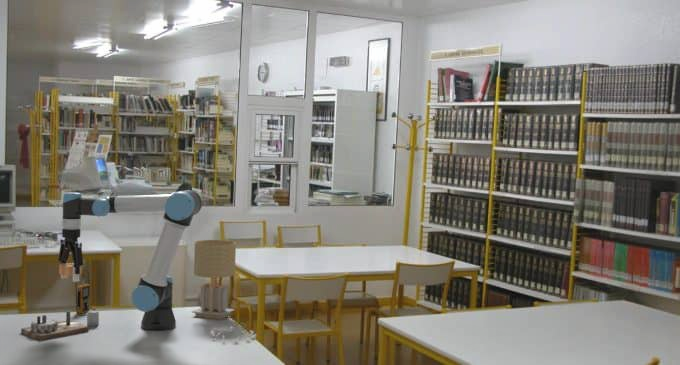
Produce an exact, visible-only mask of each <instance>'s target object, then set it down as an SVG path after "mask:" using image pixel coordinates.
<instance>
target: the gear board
mask: <svg viewBox="0 0 680 365" xmlns="http://www.w3.org/2000/svg"><path fill="white" fill-rule="evenodd" d="M41 316H42V317H41ZM41 316H40V315H37V317H36V318H37V319H36V321H32V322H31V323H30V326H27V327H22V328H21V330H20V334H23V335H25V336H28V337H31V338H33V339H36V340H38V341H46V340H51V339H54V338H56V339H57V338H59V337H66V336H70V335H76V334H77V335H78V334H82V333H86V332H87V333H88V332H90V331H89V329H90V328H89V327H90V326H87V325H84V324H82V323H79V322H76V321H72V320H71V311H70V310H67V311H66V318H65V319H66V320H63V321H62V320H61V321H57V320H55V319H50V320H49V319H47V315H46V314H44V315H41ZM41 318H42V320H41Z"/></svg>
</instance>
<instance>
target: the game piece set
mask: <svg viewBox="0 0 680 365" xmlns="http://www.w3.org/2000/svg"><path fill="white" fill-rule="evenodd" d="M233 329H234V328H233V326H231V325H230V327H229V333H232V332H233ZM209 333H210V334H211V337H212V339H211V341H213V342H215V341H217V337H218V336H219V335H221V334H222V331H219V332H218V333H217V334H215V333H216V332H215V330H210V331H209ZM249 333H250V334H249V337H250V338H249V337H247V338H246V343H251V339H253V340H255V338H257V335H258V334H257V333H254V330H249ZM241 334H246V333H245V330H244V329H242V331H241ZM225 337H226V336H225V335H224V334H223V335H222V340H221V341H220V342H221V343H220V344H226V343H227V341H226V340H225ZM240 338H241V337H240V336H238V337H237V338H236V339H234V338H233V341H232V343H234V344H238V343H239V342H240Z"/></svg>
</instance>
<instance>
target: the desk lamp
mask: <svg viewBox="0 0 680 365" xmlns="http://www.w3.org/2000/svg"><path fill="white" fill-rule="evenodd" d="M236 248H237V243H236V242H235V241H232V240H223V239H204V240H197V241H195V242H194V249H193V251H194V257H193V260H194V261H193V263H194V264H193V274H194V276H197V277H202V278H211V279H212V284H211V282H206V283H204V284H202V286H200V308H197V309H195V310H193V311H192V312H191V313H194V314H195V315H194V316H195V317H197V318H199V317H200V318H206V319H214V320H215V319H216V320H222V319H225V318H226V317H229V316H231V315H232V312H234V311H235V310H236V309H234V308H228V289H229V288H228V287H227V284H226V283H225V284H220V283H217V282H216V280H217V279H216V278H228V277H232V276H234V275H236V256H237V255H236V254H237V253H236Z"/></svg>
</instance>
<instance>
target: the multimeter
mask: <svg viewBox="0 0 680 365" xmlns="http://www.w3.org/2000/svg"><path fill="white" fill-rule="evenodd" d="M85 271H86V272H87V273H88V275H87V278H88V279H87V283H85V278H82V281H81V282H82V283H81V285H77V284H78V281H77V282H75V300H76V301H75V305H76V306H75V308H76V315H77V316H80V317H81V316H87V312H88V311H90V310H92V308H91V307H90V305H91V304H90V303H91V302H90V296H91V284H90V283H89V282H90V281H89V278H90V276H89V275H90V274H89V270H87V269H84V270H83V272H82V274H81V275H82V276H84V274H85ZM93 311H96V308H95V309H94V308H93ZM84 313H86V314H84Z"/></svg>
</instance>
